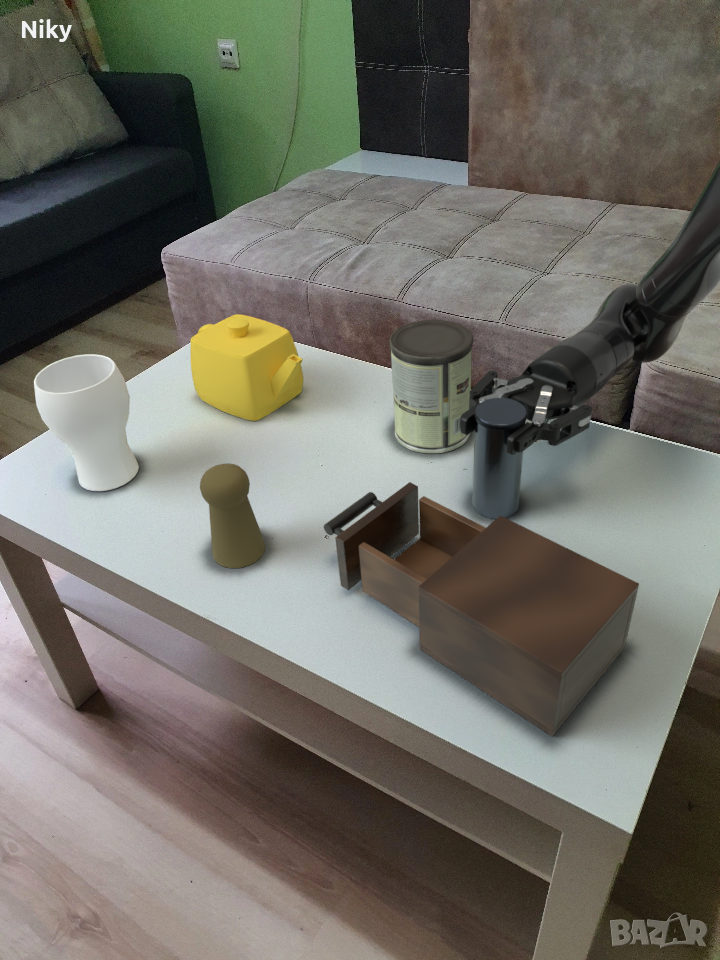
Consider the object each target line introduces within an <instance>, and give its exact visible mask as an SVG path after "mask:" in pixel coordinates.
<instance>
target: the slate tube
mask: <svg viewBox="0 0 720 960" xmlns="http://www.w3.org/2000/svg"><path fill="white" fill-rule="evenodd" d="M474 417H475V430H474V435H473V436H474V437H473V438H474V439H473V466H472V467H473V469H472V494H471V495H472V497H471V498H472V501H471V505H472V508H473V510H474V511H475V512H476V513H477V514H479V515H480V516H482V517H484V518H488V519H492V520H493V519H494V520H496V519H497V518H498V517H499V516H502V517H504V518H506V519H507V518H509V517H511V516H513V515H514V514H515V513H516V512H517V511H518V509H519V507H520V496H521V495H520V494H521V484H522V483H521V482H522V472H523V461H524V460H523V459H524V458H523V457H524V451H523V452H520V453H518V452H517V453H516V454H514V455H511V454H509V453H507V452H506V449H507V439H508V437H509V436H510V435H511V434H512V433H514V432H515V431H516V430H517V429H519V428H520V427H521V426H523V425H524V424H525V423H526V422H527V410H526V408H525V407H524V406H523V405H522V404H521V403H519V402H517V401H515V400H512V399H508V398H492V399H488V400H485V401H483V402H481V403H479V404H478V405H477V406H476V408H475V411H474Z"/></svg>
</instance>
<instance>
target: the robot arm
mask: <svg viewBox="0 0 720 960" xmlns="http://www.w3.org/2000/svg"><path fill="white" fill-rule="evenodd" d="M691 208H692V209H691V211H690V213H689V214H688V217H687V218H686V220H685V221H684V224H683V225H682V227H681V228H680V231H679V232H678V234H677V236H676V237H675V239H674V240H673V242H671V244H670V245H669V247H667V249H665V251H664V252H663V254H661V256H659V257H658V259H657V260H656V261H655V263H654V264H652V266H651V267H650V268H649V269H648V270H647V271H646V272H645V274H644V275H643V276H642V277H641V278H640V280H639V282H638V283H637V284H634V283H626V284H623V285H619V286H618V287H616V288H614V289H613V291H611V292H610V293H609V294H608V295H607V296H606V297H605V299H604V300H603V301H602V303H601V305H600V306H599V307H598V309H597V311H596V312H595V315H594V316H593V319H592V320H591V322H590V323H588V324H587V325H586V326H585V327H584V328H582V329H580V330H579V331H577V332H576V333H575V334H574V335H572V336H569V337H567V338H565V339H563V340H562V341H560V342H558V343H557V344H556V345H554V346H553V347H552V348H550V349H548V350H547V351H546V352H544V353H542V355H540V356H539V357H537V358H536V359H534V360H533V361H531V362H530V363H529V364H528V365H527V367H526V368H525V370H523V372H522V374H520V375H519V376H514V377H511V378H509V379H508V380H507V379H503V378H498V375H499V374H498V371H495V370H489V371H487V372H486V373H485V374H484V376H483V377H482V378H481V379H480V380H479V381H478V382H477V383H476V384H475V385H474V386H473V387H471V391H470V392H469V410H468V411H466V412H465V413H463V414H462V415H461V418H460V428H461V433H463V434H465V435H468V434H470V435H471V433H473V432H475V417H474V411H475V408H476V406H477V405H478V404H479V403H481V402H483V401H485V400H488V399H492V398H508V399H512V400H515V401H517V402H519V403H521V404H522V405H523V406H524V407H525V408H526V410H527V419H526V423H525V424H524V425H523V426H521V427H520V428H519V429H517V430H516V431H515V432H514V433H512V434H511V435H510V436H509V437H508V439H507V449H506V452H507V453H509V454H511V455H514V454H516V453H517V452H518V453H520V452H523V453H524V451H526V450H527V449H528V448H530V446H532V445H533V444H534V443H540V442H542V441H546V442H547V444H548V445H550V446H552V447H555V446H559V445H560V444H562V443H564V442H566V441H568V440H569V439H570V440H571V438H573V437H575V436H577V435H580V434H581V433H582V432H585V431H587V430H589V429H590V426H591V419H592V413H593V407H592V406H591V405H589V404H585V403H586V402H587V401H589V400H590V399H591V398H593V396H595V395H596V394H597V393H599V392H600V391H601V390H603V388H604V387H605V386H606V384H607V383H608V382H609V381H610V380H612V378H614V377H615V376H616V375H618V374H619V373H620V372H621V371H622V370H624V369H625V368H626V367H628V365H629V364H630V363H631V361H635V362H636V363H641V364H642V363H643V364H644V363H647V364H648V363H652V362H654V361H657V360H659V359H660V358H661V357H663V356H664V355H665V354H666V353H668V351H669V350H670V349H671V348H672V347H673V345H674V344H675V342H676V341H677V339H678V336H679V334H680V333H681V330H682V328H683V326H684V323H685V320H686V318H687V317H688V315H689V314H691V312H692V311H693V310H695V308H697V307H698V306H699V305H700V304H701V303H702V302H703V301H704V300H705V299H707V298H708V296H710V295H711V294H712V293H713V291H714V290H715V289H716V288H717V286H718V285H719V284H720V160H719V161H718V163H717V165H716V166H715V168H714V170H713V171H712V173H711V175H710V176H709V179H708V180H707V182H706V184H705V186H704V188H703V189H702V191H701V193H700V194H699V196H698V198H697V199H696V201H695V203H694V205H693V207H691ZM550 420H552V421H550Z"/></svg>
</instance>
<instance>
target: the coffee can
mask: <svg viewBox="0 0 720 960" xmlns="http://www.w3.org/2000/svg"><path fill="white" fill-rule="evenodd" d="M388 343H389V348H390V359H391V378H392V379H391V380H392V397H393V398H392V399H393V414H394V437H395V439H396V441H397V442H398V443H399V444H400V445H401V446H402V447H404V448H405V449H406V450H407V449H408V450H410V451H412V452H416V453H420V454H421V453H422V454H444V453H448V452H451V451H453V450H457V449H458V448H460V447H462V446H463V445H464V444H465V443H466V442H467V441H468V440H469V438H470V436H471V433H470V434H468V435H465V434H463V433H461V428H460V418H461V415H462V414H463V413H465V412H466V411H468V410H469V392H470V391H471V389H472V371H473V370H472V363H473V362H472V359H473V357H472V356H473V353H472V352H473V344H474V335H473V333H472V331H471V330H470V329H469V328H468V327H466V326H464V325H462V324H461V323H458V322H455V321H451V320H446V319H445V320H444V319H424V320H417V321H413V322H409V323H406V324H404V325H401V326H400V327H398V328H396V329H395V330H394V331H393V332H392V333H391V335H390V337H389V342H388Z"/></svg>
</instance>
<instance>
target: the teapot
mask: <svg viewBox="0 0 720 960" xmlns="http://www.w3.org/2000/svg"><path fill="white" fill-rule="evenodd" d="M302 364H303V358H302V357H300V356H299V353H298V350H297V347H296V344H295V341H294V339H293V336H292V334H291V331H289V330H288V329H287V328H285V327H283V326H280V325H278V324H275V323H273V322H270V321H267V320H264V319H261V318H258V317H254V316H249V315H245V314H238V313H236V314H233V315H231V316H229V317H227V318H223V320H221V321H219V322H217V323H215V324H213V323H207V324H204V325H202V326H200V328H199V329H198V331H197V333H196V334H195V335H193V336H192V337H191V338H190V370H191V378H192V383H193V387H194V390H195V392H196V394H197V396H198V398H200V400H201V401H202V402H204V403H206V404H207V405H209V406H211V407H213V408H215V409H217V410H218V411H221V412H223V413H226V414H229V415H231V416H233V417H237V418H240V419H243V420H245V421H246V420H247V421H252V422H258V421H260V420H262V419H264V418H265V417H267V416H269V415H270V414H272V413H273V412H275V411H277V410H278V409H280V408H281V407H283V406H284V405H286V404H287V403H289V402H291V400H293V399H294V398H296V397H297V396H298V395H300V394H301V393H302V391H303V386H304V373H303V368H302Z"/></svg>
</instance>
